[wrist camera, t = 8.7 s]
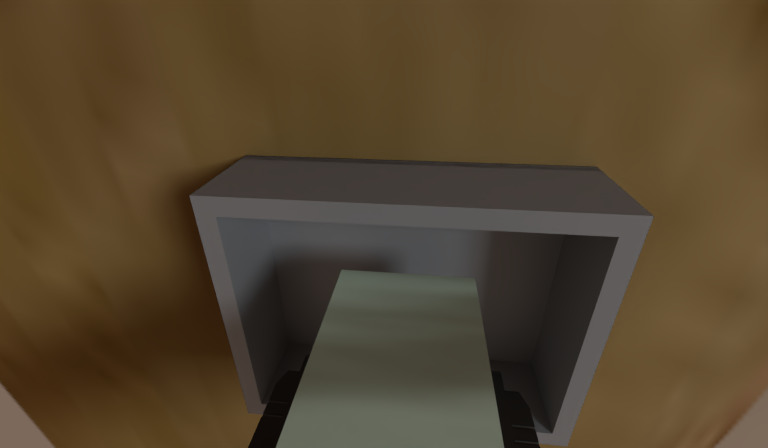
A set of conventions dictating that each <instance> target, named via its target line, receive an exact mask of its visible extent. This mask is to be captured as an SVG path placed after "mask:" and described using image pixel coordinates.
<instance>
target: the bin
mask: <svg viewBox="0 0 768 448" xmlns="http://www.w3.org/2000/svg"><path fill="white" fill-rule="evenodd" d="M189 196H190V200H191V204H192V207H193V211H194V215H195V218H196V222H197V226H198V230H199V233H200V237H201V241H202V244H203V248H204V252H205V255H206V259H207V263H208V266H209V270H210V274H211V277H212V281H213V285H214V288H215V292H216V296H217V299H218V303H219V307H220V310H221V314H222V318H223V321H224V325H225V329H226V332H227V336H228V340H229V343H230V347H231V351H232V355H233V358H234V362H235V366H236V369H237V373H238V377H239V380H240V384H241V388H242V391H243V395H244V399H245V402H246V406H247V410H248V413H253V414H263V412H264V410H265V408H266V405H267V403H268V402H269V398H270V396H271V394H272V391H273V389H274V387H275V385H276V383H277V382H278V381H279V380H280V379H281V378H282V377H283V375H284V374H285V373H286V372H287V371H288V370H291V371H300V369H301V366H302V364H303V361H304V359H305V357H306V355H307V354H311V351H312V348H313V346H314V343H315V340H316V338H317V335H318V332H319V329H320V327H321V324H322V321H323V319H324V316H325V313H326V310H327V308H328V305H329V302H330V300H331V297H332V294H333V292H334V289H335V286H336V283H337V281H338V278H339V275H340V273H341V270H354V271H371V272H387V273H403V274H419V275H436V276H452V277H468V278H475V281H476V287H477V293H478V298H479V304H480V310H481V316H482V322H483V327H484V333H485V339H486V345H487V351H488V356H489V362H490V368H491V370H495V371H500V372H501V375H502V380H503V385H504V390H506V391H516V392H519V393H520V394H521V396H522V397H523V399H524V400H525V402H526V403H527V405H528V406H529V407H530V410H531V414H532V418H533V422H534V426H535V430H536V433H537V437H538V441H539V444H549V445H558V446H567V445H568V442H569V439H570V437H571V434H572V431H573V429H574V426H575V424H576V421H577V418H578V416H579V413H580V410H581V408H582V405H583V402H584V400H585V397H586V394H587V392H588V389H589V386H590V384H591V381H592V379H593V376H594V373H595V371H596V368H597V365H598V363H599V360H600V357H601V355H602V352H603V349H604V347H605V344H606V341H607V339H608V336H609V334H610V331H611V328H612V326H613V323H614V320H615V318H616V315H617V312H618V310H619V307H620V304H621V302H622V299H623V296H624V294H625V291H626V288H627V286H628V283H629V281H630V278H631V275H632V273H633V270H634V267H635V265H636V262H637V259H638V257H639V254H640V251H641V249H642V246H643V243H644V241H645V238H646V236H647V233H648V230H649V228H650V225H651V222H652V220H653V217H654V216H653V215H652V214H651V213H650V212H648V211H647V210H646V209H645V208H644V207H643V206H642V205H640V204H639V203H638V202H637V201H636V200H635V199H633V198H632V197H631V196H630V195H629V194H628V193H627V192H625V191H624V190H623V189H622V188H621V187H620V186H618V185H617V184H616V183H615V182H614V181H613V180H612V179H610V178H609V177H608V176H607V175H606V174H605V173H603V172H602V171H601V170H600V169H599V168H598V167H588V166H557V165H526V164H495V163H465V162H434V161H403V160H372V159H341V158H310V157H279V156H249V155H246V156H244V157H243V158H242V159H240V160H239V161H237V162H236V163H234V164H233V165H232V166H230V167H229V168H227V169H226V170H225V171H223V172H222V173H220V174H219V175H218V176H216V177H215V178H213V179H212V180H210V181H209V182H208V183H206V184H205V185H203V186H202V187H201V188H199V189H198V190H196V191H195V192H193V193H192V194H191V195H189Z"/></svg>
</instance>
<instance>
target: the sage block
mask: <svg viewBox="0 0 768 448" xmlns="http://www.w3.org/2000/svg"><path fill="white" fill-rule="evenodd" d="M276 448H504V444H503V438H502V432H501V426H500V420H499V415H498V409H497V403H496V397H495V391H494V386H493V380H492V374H491V368H490V362H489V356H488V351H487V345H486V339H485V333H484V327H483V322H482V316H481V310H480V304H479V298H478V293H477V287H476V281H475V278H468V277H452V276H436V275H419V274H403V273H387V272H371V271H354V270H341V273H340V275H339V278H338V281H337V283H336V286H335V289H334V292H333V294H332V297H331V300H330V302H329V305H328V308H327V310H326V313H325V316H324V319H323V321H322V324H321V327H320V329H319V332H318V335H317V338H316V340H315V343H314V346H313V348H312V351H311V354H310V356H309V359H308V362H307V365H306V367H305V370H304V373H303V375H302V378H301V381H300V384H299V386H298V389H297V392H296V394H295V397H294V400H293V402H292V405H291V408H290V411H289V413H288V416H287V419H286V421H285V424H284V427H283V430H282V432H281V435H280V438H279V440H278V443H277V446H276Z"/></svg>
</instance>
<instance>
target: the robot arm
mask: <svg viewBox="0 0 768 448" xmlns="http://www.w3.org/2000/svg"><path fill="white" fill-rule="evenodd" d="M309 356H310V354H307V355H306V357H305V359H304V361H303V364H302V366H301V369H300V371H291V370H288V371H287V372H286V373H285V374H284V375H283V377H282V378H281V379H280V380H279V381H278V382H277V383H276V385H275V387H274V389H273V391H272V394H271V396H270V398H269V402H268V403H267V405H266V408H265V410H264V412H263V416H262V417H261V419H260V421H259V424H258V426H257V428H256V431H255V433H254V435H253V438H252V440H251V442H250V444H249V447H248V448H276V446H277V443H278V440H279V438H280V435H281V432H282V430H283V427H284V424H285V421H286V419H287V416H288V413H289V411H290V408H291V405H292V402H293V400H294V397H295V394H296V392H297V389H298V386H299V384H300V381H301V378H302V375H303V373H304V370H305V367H306V365H307V362H308V359H309ZM491 374H492V380H493V386H494V391H495V397H496V403H497V409H498V415H499V420H500V426H501V432H502V438H503V444H504V448H540V446H539V441H538V437H537V433H536V430H535V426H534V422H533V418H532V414H531V410H530V407H529V406H528V405H527V403H526V402H525V400H524V399H523V397H522V396H521V394H520V393H519V392H516V391H506V390H504V385H503V380H502V375H501V372H500V371H495V370H491Z"/></svg>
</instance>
